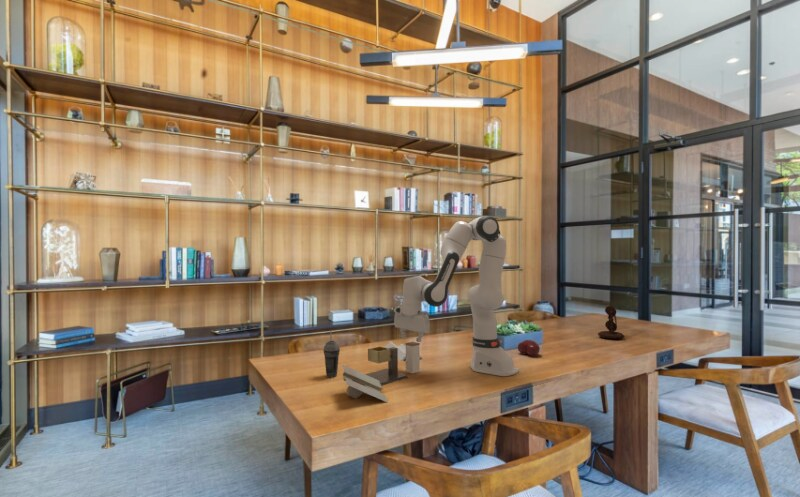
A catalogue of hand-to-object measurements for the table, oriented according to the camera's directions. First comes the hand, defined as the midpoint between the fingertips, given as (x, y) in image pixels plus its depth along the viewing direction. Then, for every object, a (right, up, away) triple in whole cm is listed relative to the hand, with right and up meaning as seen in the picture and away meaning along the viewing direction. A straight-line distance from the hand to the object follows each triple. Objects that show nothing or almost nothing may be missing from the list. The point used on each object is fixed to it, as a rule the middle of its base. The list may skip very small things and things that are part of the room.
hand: (411, 340), depth 184 cm
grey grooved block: (-19, -14, -32) cm, 40 cm away
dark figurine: (+129, -15, +69) cm, 147 cm away
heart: (+64, -15, +29) cm, 72 cm away
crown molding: (-4, -16, +35) cm, 38 cm away
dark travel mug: (-36, -15, -7) cm, 39 cm away
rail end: (+1, -14, 0) cm, 14 cm away
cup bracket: (-12, -14, -10) cm, 21 cm away
